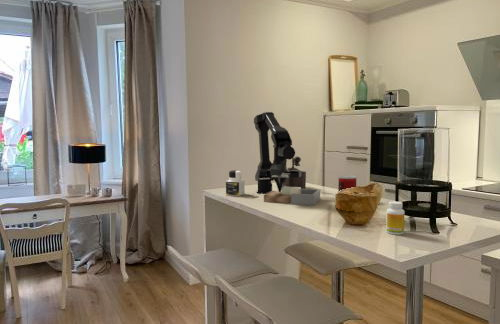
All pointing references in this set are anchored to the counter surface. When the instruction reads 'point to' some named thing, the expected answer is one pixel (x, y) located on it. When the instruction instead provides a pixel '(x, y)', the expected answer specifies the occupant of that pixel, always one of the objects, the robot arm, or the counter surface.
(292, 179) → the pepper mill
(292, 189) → the cream tile
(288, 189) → the sage tile
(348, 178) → the canned food
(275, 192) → the riser board
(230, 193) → the medicine bottle
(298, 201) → the box
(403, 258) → the counter surface
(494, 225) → the counter surface
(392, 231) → the supplement bottle
